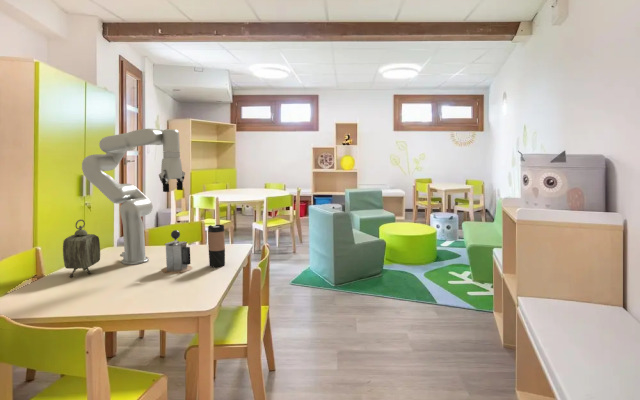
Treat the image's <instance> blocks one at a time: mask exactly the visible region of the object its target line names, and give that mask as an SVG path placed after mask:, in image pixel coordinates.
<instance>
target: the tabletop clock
mask: <svg viewBox="0 0 640 400" xmlns="http://www.w3.org/2000/svg"><path fill="white" fill-rule="evenodd" d="M80 222H83V225H79V226H77V225H78V223H80ZM85 225H86V223H85V220H84V219H78V220H77V221H76V222H75V226H74V227H75V228H76V229H77V230H76V231H75V232H74V234H72V235H70V236H67V237H66V238H65V239H63V242H62V258H63V264H64V267H65V269H71V270H72V269H73V270H72V272H71V273H70V274H69V275H68V276H69V278H73V277H74V274H75V272H76V271H77V270H79V269H82V270H83V271H86V274H88V275H90V274H91V273H92V271H91V270H90V269H89V268H90V267H92V266H94V265H95V264H97V263H98V262H100V260H101V243H100V239H99V236H97V235H96V234H90V233H88V232H87V231H86V230H85V229H84V228H85Z"/></svg>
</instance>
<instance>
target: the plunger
mask: <svg viewBox="0 0 640 400" xmlns="http://www.w3.org/2000/svg"><path fill="white" fill-rule="evenodd" d="M170 236H171V238H172V239H174V241H175V244H176V243H177V241H178V239H179V238H180V237H181V233H180V231H179V230H178V229H175V230H172V231H171V233H170Z"/></svg>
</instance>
